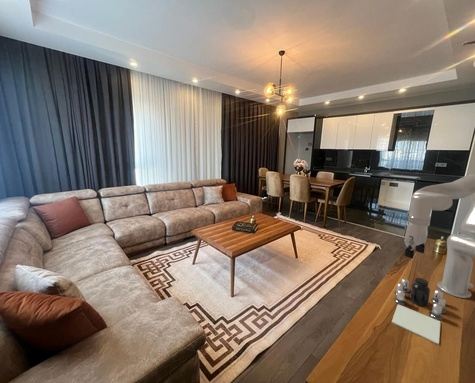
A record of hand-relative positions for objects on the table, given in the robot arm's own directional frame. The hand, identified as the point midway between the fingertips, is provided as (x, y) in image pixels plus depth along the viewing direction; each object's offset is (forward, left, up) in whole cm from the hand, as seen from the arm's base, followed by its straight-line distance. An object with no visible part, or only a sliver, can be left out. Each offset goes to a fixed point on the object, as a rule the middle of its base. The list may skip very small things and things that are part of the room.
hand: (414, 254), depth 98 cm
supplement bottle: (-5, +1, -26) cm, 26 cm away
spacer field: (-5, +1, -26) cm, 26 cm away
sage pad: (+9, +12, -26) cm, 30 cm away
